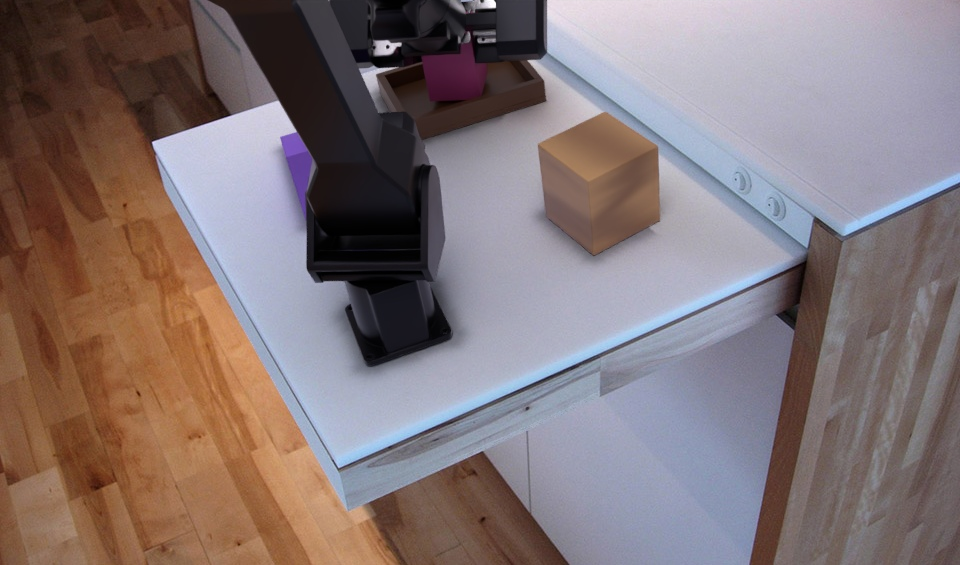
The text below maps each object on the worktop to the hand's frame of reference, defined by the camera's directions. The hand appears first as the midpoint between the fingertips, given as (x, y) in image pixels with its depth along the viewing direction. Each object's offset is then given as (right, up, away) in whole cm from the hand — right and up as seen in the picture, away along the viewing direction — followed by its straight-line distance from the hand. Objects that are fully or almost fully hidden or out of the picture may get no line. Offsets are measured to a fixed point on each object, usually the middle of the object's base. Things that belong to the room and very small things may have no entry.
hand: (457, 52), depth 95 cm
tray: (0, -4, +2) cm, 4 cm away
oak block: (+12, -16, -14) cm, 25 cm away
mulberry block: (0, -3, +1) cm, 3 cm away
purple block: (-11, -12, -5) cm, 17 cm away
